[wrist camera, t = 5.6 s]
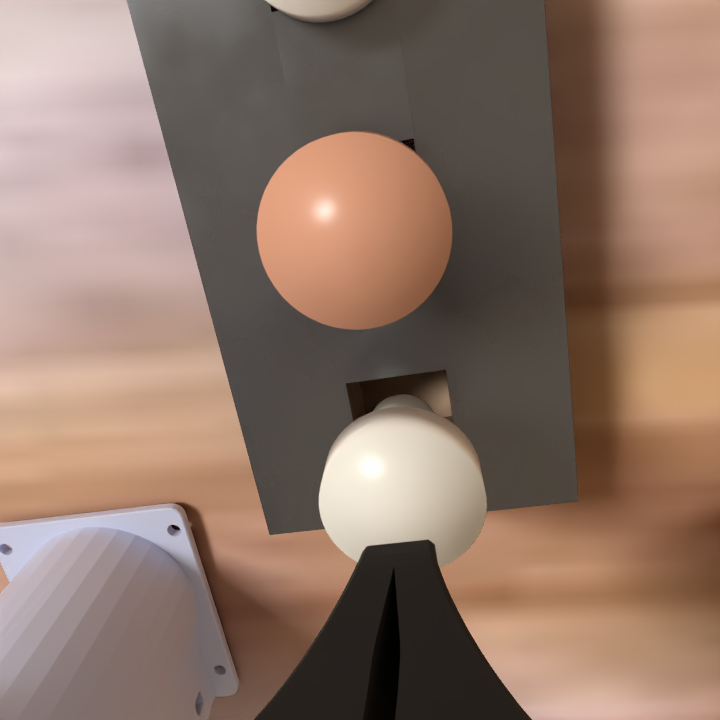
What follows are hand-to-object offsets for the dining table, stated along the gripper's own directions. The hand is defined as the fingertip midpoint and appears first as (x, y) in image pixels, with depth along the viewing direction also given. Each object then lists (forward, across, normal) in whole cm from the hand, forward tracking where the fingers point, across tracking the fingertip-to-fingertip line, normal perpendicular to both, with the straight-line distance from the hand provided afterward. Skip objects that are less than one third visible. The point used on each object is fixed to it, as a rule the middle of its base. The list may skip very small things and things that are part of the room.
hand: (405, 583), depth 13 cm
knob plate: (+10, 0, -6) cm, 12 cm away
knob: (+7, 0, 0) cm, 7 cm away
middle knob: (+7, 0, -6) cm, 10 cm away
